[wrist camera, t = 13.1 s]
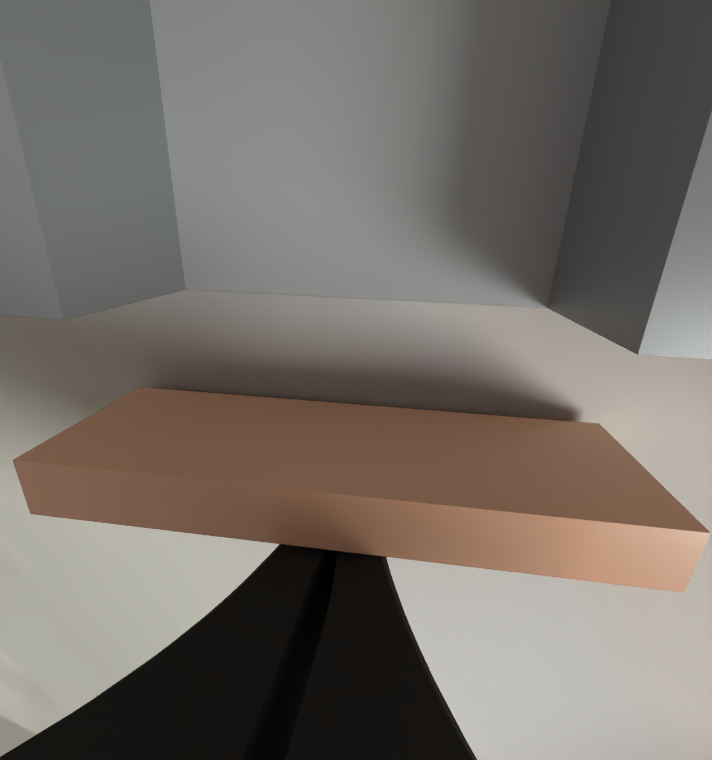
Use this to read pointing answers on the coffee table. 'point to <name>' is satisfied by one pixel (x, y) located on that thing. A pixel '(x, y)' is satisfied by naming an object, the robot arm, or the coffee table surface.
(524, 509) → the end cap
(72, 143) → the tray
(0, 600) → the coffee table surface
